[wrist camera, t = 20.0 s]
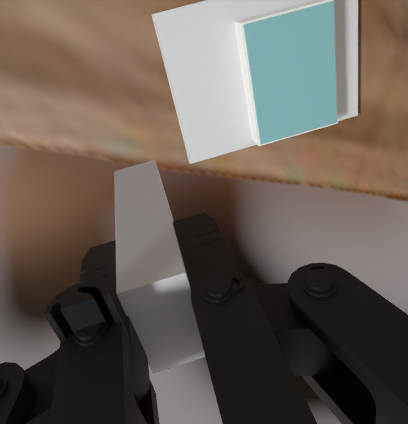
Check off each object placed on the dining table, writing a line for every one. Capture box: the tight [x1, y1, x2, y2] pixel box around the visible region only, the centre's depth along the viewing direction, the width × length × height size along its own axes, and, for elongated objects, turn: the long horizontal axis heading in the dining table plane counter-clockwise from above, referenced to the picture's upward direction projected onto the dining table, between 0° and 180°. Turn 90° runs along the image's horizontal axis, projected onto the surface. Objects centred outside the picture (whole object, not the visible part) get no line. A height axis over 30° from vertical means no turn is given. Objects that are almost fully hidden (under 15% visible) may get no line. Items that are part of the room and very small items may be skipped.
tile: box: [234, 0, 338, 146], centre depth 38 cm, size 12×2×9 cm
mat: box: [152, 0, 358, 164], centre depth 39 cm, size 15×20×1 cm
